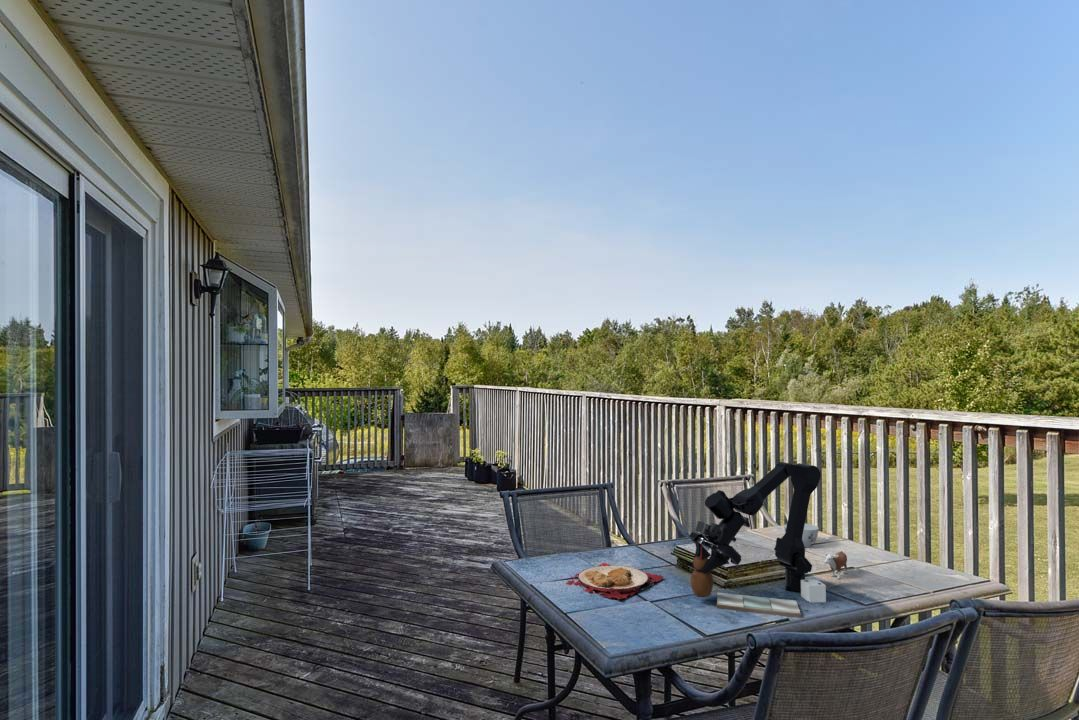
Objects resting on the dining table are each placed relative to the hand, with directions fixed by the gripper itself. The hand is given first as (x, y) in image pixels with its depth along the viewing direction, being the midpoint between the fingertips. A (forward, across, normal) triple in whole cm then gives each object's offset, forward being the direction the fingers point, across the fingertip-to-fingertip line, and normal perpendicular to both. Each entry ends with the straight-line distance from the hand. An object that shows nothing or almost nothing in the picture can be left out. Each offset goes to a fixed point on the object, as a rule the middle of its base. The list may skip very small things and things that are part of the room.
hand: (697, 570), depth 169 cm
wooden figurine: (+5, 0, +6) cm, 8 cm away
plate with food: (+18, -26, -4) cm, 32 cm away
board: (-3, +8, +17) cm, 19 cm away
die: (-17, +9, +32) cm, 37 cm away
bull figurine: (-34, -4, +49) cm, 59 cm away
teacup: (-45, -38, +61) cm, 85 cm away
